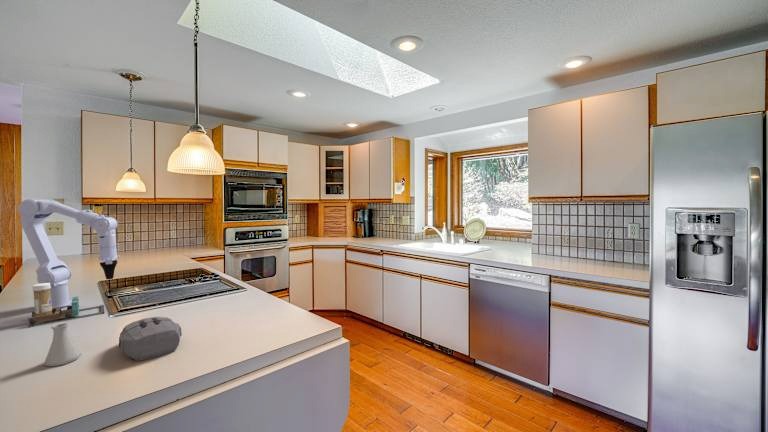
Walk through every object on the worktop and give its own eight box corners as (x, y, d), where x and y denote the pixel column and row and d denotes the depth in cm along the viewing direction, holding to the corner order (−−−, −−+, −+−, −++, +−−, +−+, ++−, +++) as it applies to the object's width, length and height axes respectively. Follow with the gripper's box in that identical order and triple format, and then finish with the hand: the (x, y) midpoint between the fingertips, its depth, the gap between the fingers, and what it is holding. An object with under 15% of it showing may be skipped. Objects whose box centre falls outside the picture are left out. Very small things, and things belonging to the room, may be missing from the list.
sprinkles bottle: (51, 320, 123) (48, 284, 122) (33, 323, 120) (30, 286, 119) (54, 317, 126) (51, 281, 126) (37, 319, 124) (34, 283, 123)
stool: (32, 316, 125) (31, 303, 125) (79, 308, 133) (78, 296, 133) (28, 324, 117) (27, 310, 117) (78, 315, 125) (77, 302, 125)
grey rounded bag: (188, 349, 99) (170, 330, 114) (186, 321, 99) (169, 305, 113) (123, 368, 89) (113, 344, 103) (121, 337, 88) (111, 317, 102)
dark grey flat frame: (33, 318, 125) (33, 316, 125) (103, 306, 138) (103, 304, 138) (29, 327, 117) (29, 325, 117) (104, 313, 130) (104, 311, 130)
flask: (60, 355, 96) (57, 320, 96) (87, 353, 97) (84, 319, 96) (36, 368, 89) (33, 331, 88) (66, 366, 90) (62, 329, 89)
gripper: (120, 247, 137) (123, 280, 138) (118, 243, 148) (120, 274, 149) (97, 249, 133) (100, 283, 134) (97, 245, 144) (100, 276, 145)
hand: (109, 278), depth 141 cm, fingers closed
